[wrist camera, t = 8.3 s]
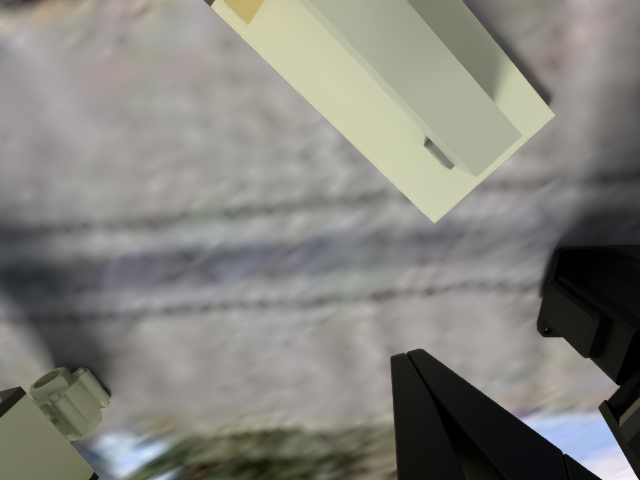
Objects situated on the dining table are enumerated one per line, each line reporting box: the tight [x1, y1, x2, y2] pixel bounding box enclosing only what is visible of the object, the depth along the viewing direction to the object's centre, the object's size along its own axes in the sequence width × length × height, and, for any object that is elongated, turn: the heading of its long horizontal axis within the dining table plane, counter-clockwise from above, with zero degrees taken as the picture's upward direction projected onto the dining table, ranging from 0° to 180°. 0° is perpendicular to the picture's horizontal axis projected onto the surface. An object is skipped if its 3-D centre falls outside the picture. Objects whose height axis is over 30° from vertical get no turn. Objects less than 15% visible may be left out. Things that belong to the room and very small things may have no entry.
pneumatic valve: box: [0, 367, 110, 480], centre depth 21 cm, size 6×12×12 cm, turn 19°
